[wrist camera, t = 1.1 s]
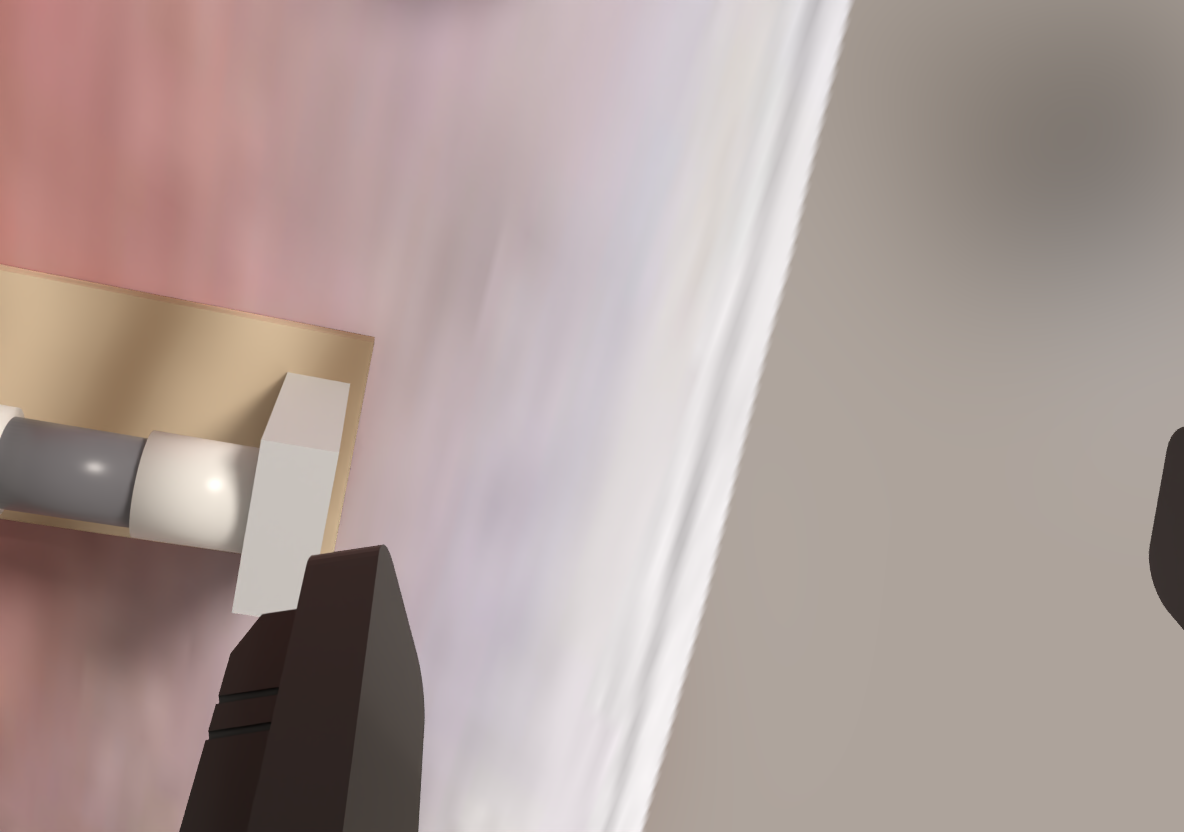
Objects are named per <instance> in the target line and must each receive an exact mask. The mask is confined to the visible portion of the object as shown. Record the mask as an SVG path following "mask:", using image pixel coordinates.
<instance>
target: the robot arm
mask: <svg viewBox="0 0 1184 832" xmlns="http://www.w3.org/2000/svg"><path fill="white" fill-rule="evenodd" d="M1149 563H1150V571H1151V576H1152V580H1153V583H1154V586H1155V588H1156V591H1157V594H1158V596H1159V598H1160V600H1161V602H1162V603H1163V605H1164V606H1165V608H1166V609H1167V610H1168V612H1169V613H1170V614H1171V615H1172V617H1173V618H1174V619H1175V620H1176V621H1177V622H1178V624H1179V625H1180V626H1181V627H1182V628H1183V630H1184V427H1182V428H1180V429H1178V430H1177V431H1176V432H1175V433H1174V434H1173V435H1172V437H1171V439H1170V441H1169V443H1168V447H1167V452H1166V457H1165V463H1164V469H1163V475H1162V480H1161V486H1160V491H1159V497H1158V502H1157V508H1156V514H1155V519H1154V525H1153V531H1152V536H1151V542H1150V549H1149ZM424 718H425V714H424V694H423V684H422V677H421V671H420V665H419V661H418V656H417V652H416V649H415V645H414V641H413V637H412V633H411V630H410V626H409V622H408V618H407V614H406V611H405V607H404V603H403V599H402V595H401V592H400V588H399V584H398V580H397V577H396V573H395V569H394V565H393V562H392V558H391V555H390V553H389V551H388V549H387V547H386V546H385V545H378V546H371V547H364V548H358V549H351V550H344V551H338V552H331V553H324V554H318V555H311V556H310V557H309V559H308V561H307V564H306V568H305V573H304V577H303V582H302V586H301V591H300V595H299V600H298V604H297V609H292V610H285V611H279V612H272V613H266V614H262V615H261V616H260V617H259V619H258V620H257V621H256V622H255V624H254V625H253V626H252V627H251V629H250V630H249V631H248V632H247V634H246V635H245V636H244V637H243V639H242V640H241V641H240V642H239V644H238V645H237V646H236V647H235V649H234V650H233V651H232V652H231V654H230V657H229V661H228V664H227V668H226V671H225V675H224V678H223V682H222V685H221V689H220V692H219V704H216V706H215V710H214V713H213V716H212V720H211V723H210V727H209V730H208V732H209V740H206V741H205V744H204V748H203V751H202V755H201V758H200V762H199V765H198V769H197V772H196V776H195V779H194V783H193V786H192V789H191V793H190V796H189V800H188V803H187V807H186V810H185V814H184V817H183V821H182V824H181V828H180V831H179V832H418V826H419V809H420V791H421V774H422V756H423V738H424Z"/></svg>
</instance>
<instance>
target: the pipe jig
mask: <svg viewBox="0 0 1184 832" xmlns="http://www.w3.org/2000/svg"><path fill="white" fill-rule="evenodd" d="M349 388H350V383H344V382H339V381H333V380H328V379H323V378H317V377H312V376H306V375H301V374H295V373H290V372H287V375H286V378H285V380H284V383H283V385H282V388H281V390H280V393H279V395H278V398H277V401H276V403H275V406H274V408H273V411H272V413H271V416H270V418H269V421H268V424H267V426H266V429H265V431H264V434H263V436H262V439H261V444H260V448H257V447H251V446H245V445H239V444H233V443H227V442H221V441H215V440H209V439H203V438H197V437H191V436H185V435H179V434H173V433H167V432H162V431H156V430H153V431H152V432H151V434H150V435H149V437H148V438H143V437H137V436H131V435H125V434H119V433H113V432H107V431H101V430H95V429H89V428H83V427H77V426H70V425H64V424H58V423H52V422H46V421H40V420H34V419H28V418H25V416H24V413H23V411H22V409H21V408H19V407H13V406H7V405H1V404H0V514H1V513H2V512H3V511H4V509H5V510H11V511H18V512H25V513H32V514H39V515H45V516H52V517H59V518H66V519H72V520H79V521H86V522H93V523H99V524H106V525H113V526H120V527H126V528H129V531H130V536H131V537H132V538H138V539H145V540H151V541H158V542H165V543H172V544H179V545H186V546H193V547H199V548H206V549H213V550H220V551H227V552H234V553H240V554H242V555H241V561H240V567H239V573H238V579H237V585H236V591H235V596H234V602H233V608H232V613H236V614H243V615H251V616H258V617H260V616H261V615H262V614H266V613H272V612H279V611H285V610H292V609H297V604H298V600H299V595H300V591H301V586H302V582H303V577H304V573H305V568H306V564H307V561H308V559H309V557H310V556H311V555H318V554H320V551H321V546H322V541H323V535H324V530H325V525H326V519H327V514H328V509H329V504H330V498H331V493H332V488H333V482H334V477H335V472H336V467H337V461H338V456H339V450H340V444H341V438H342V432H343V426H344V419H345V413H346V407H347V401H348V394H349Z"/></svg>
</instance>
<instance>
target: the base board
mask: <svg viewBox="0 0 1184 832" xmlns="http://www.w3.org/2000/svg"><path fill="white" fill-rule="evenodd" d="M374 338H375V337H371V336H366V335H361V334H355V333H350V332H345V331H340V330H335V329H330V328H325V327H320V326H314V325H309V324H304V323H299V322H294V321H289V320H284V319H278V318H273V317H268V316H263V315H258V314H253V313H248V312H243V311H237V310H232V309H227V308H222V307H217V306H212V305H207V304H201V303H196V302H191V301H186V300H181V299H176V298H171V297H166V296H160V295H155V294H150V293H145V292H140V291H135V290H130V289H125V288H119V287H114V286H109V285H104V284H99V283H94V282H89V281H83V280H78V279H73V278H68V277H63V276H58V275H53V274H48V273H42V272H37V271H32V270H27V269H22V268H17V267H12V266H7V265H1V264H0V404H1V405H7V406H13V407H19V408H21V409H22V411H23V413H24V416H25V418H28V419H34V420H40V421H46V422H52V423H58V424H64V425H70V426H77V427H83V428H89V429H95V430H101V431H107V432H113V433H119V434H125V435H131V436H137V437H143V438H148V437H149V435H150V434H151V432H152V431H153V430H156V431H162V432H167V433H173V434H179V435H185V436H191V437H197V438H203V439H209V440H215V441H221V442H227V443H233V444H239V445H245V446H251V447H257V448H260V444H261V439H262V436H263V434H264V431H265V429H266V426H267V424H268V421H269V418H270V416H271V413H272V411H273V408H274V406H275V403H276V401H277V398H278V395H279V393H280V390H281V388H282V385H283V383H284V380H285V378H286V375H287V372H290V373H295V374H301V375H306V376H312V377H317V378H323V379H328V380H333V381H339V382H344V383H350V388H349V394H348V401H347V407H346V413H345V419H344V426H343V432H342V438H341V444H340V450H339V456H338V461H337V467H336V472H335V477H334V482H333V488H332V493H331V498H330V504H329V509H328V514H327V519H326V525H325V530H324V535H323V541H322V546H321V551H320V554H324V553H331V552H334V548H335V543H336V538H337V533H338V528H339V522H340V517H341V512H342V507H343V502H344V496H345V491H346V486H347V481H348V476H349V470H350V465H351V460H352V455H353V450H354V444H355V439H356V434H357V429H358V424H359V418H360V413H361V408H362V403H363V398H364V392H365V387H366V382H367V377H368V372H369V366H370V361H371V356H372V351H373V346H374ZM0 519H5V520H12V521H18V522H25V523H32V524H39V525H46V526H53V527H60V528H66V529H73V530H80V531H87V532H94V533H101V534H108V535H114V536H121V537H128V538H132V537H131V536H130V531H129V528H126V527H120V526H113V525H106V524H99V523H93V522H86V521H79V520H72V519H66V518H59V517H52V516H45V515H39V514H32V513H25V512H18V511H11V510H5V509H4V511H3V512H2V513H1V514H0ZM135 539H138V538H135ZM142 540H145V539H142ZM149 541H151V540H149ZM156 542H158V541H156ZM162 543H165V542H162ZM169 544H172V543H169ZM176 545H179V544H176ZM183 546H186V545H183ZM190 547H193V546H190ZM197 548H199V547H197ZM203 549H206V548H203ZM210 550H213V549H210ZM217 551H220V550H217ZM224 552H227V551H224ZM231 553H234V552H231ZM238 554H240V553H238Z"/></svg>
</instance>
